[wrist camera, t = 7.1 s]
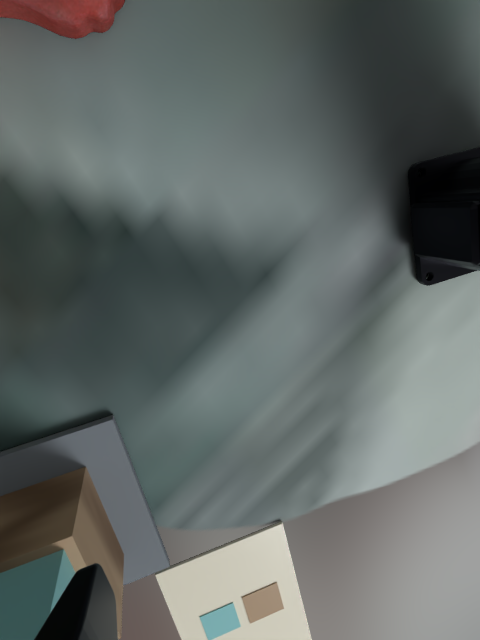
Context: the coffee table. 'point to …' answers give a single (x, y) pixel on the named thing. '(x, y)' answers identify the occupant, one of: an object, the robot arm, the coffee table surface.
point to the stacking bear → (64, 14)
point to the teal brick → (32, 594)
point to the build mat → (109, 480)
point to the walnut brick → (61, 528)
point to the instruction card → (237, 591)
